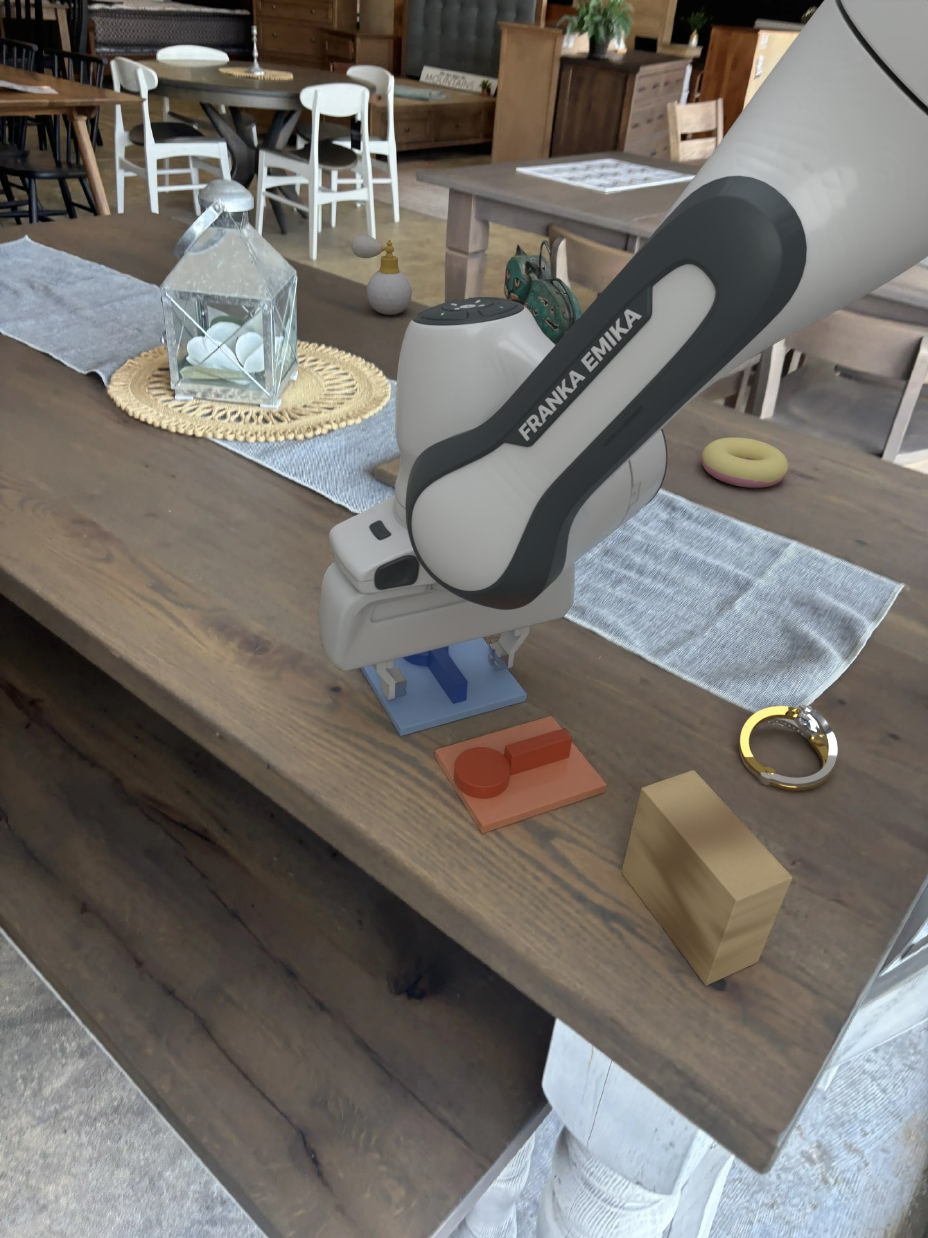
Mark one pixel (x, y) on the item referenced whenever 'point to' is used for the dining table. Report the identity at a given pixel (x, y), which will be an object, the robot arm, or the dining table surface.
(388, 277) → the perfume bottle
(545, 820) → the dining table surface
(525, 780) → the terracotta tile
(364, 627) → the robot arm
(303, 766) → the dining table surface
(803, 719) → the ring
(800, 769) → the dining table surface
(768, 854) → the spoon stand
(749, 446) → the donut
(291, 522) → the dining table surface
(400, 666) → the blue tile
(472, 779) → the terracotta spoon
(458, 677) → the blue spoon
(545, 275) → the ceramic cat
